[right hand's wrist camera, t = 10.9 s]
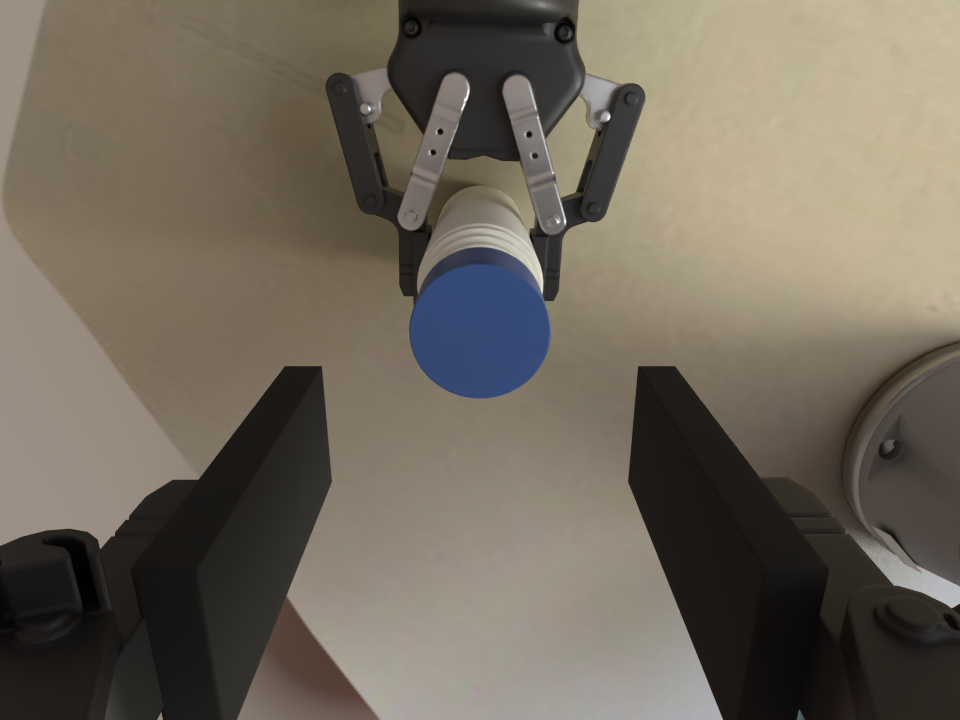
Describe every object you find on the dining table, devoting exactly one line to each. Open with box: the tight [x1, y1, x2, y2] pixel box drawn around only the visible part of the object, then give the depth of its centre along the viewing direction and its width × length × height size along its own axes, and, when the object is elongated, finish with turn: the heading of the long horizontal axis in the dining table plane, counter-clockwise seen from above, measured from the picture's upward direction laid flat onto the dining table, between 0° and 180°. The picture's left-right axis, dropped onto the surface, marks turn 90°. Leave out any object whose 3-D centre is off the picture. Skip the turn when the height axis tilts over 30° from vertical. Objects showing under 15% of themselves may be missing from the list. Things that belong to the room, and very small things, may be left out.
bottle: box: [417, 185, 543, 293], centre depth 29 cm, size 5×5×19 cm
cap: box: [409, 247, 551, 398], centre depth 21 cm, size 4×4×3 cm
